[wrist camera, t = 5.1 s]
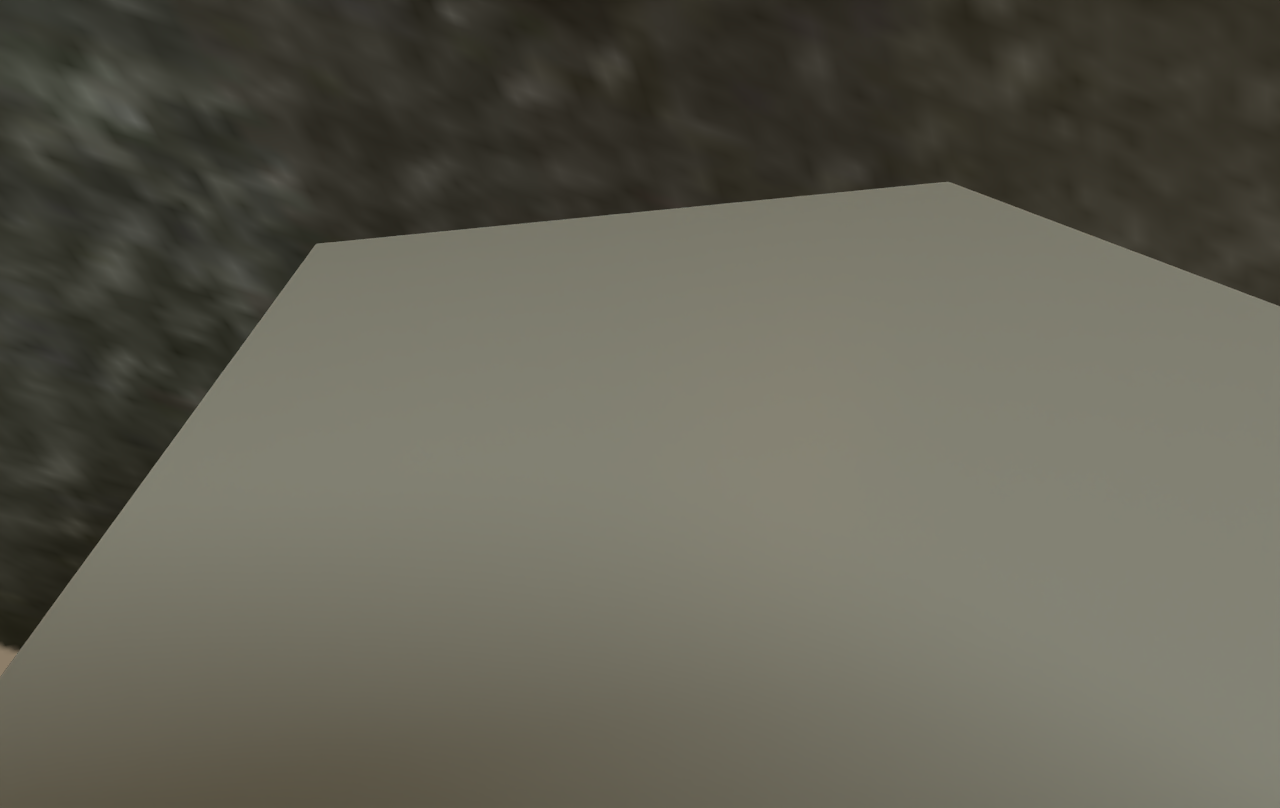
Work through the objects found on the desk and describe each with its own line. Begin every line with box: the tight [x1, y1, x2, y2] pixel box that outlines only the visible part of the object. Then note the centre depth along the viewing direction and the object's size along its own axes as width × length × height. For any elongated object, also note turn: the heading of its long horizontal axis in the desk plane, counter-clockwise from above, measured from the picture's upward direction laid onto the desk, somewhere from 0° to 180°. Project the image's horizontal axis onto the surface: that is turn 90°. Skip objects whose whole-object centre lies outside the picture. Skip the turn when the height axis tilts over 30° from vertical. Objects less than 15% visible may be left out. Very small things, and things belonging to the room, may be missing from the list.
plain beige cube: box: [0, 182, 1280, 808], centre depth 8 cm, size 8×8×9 cm
